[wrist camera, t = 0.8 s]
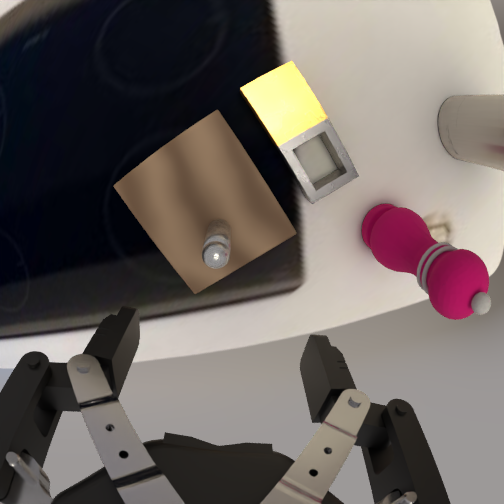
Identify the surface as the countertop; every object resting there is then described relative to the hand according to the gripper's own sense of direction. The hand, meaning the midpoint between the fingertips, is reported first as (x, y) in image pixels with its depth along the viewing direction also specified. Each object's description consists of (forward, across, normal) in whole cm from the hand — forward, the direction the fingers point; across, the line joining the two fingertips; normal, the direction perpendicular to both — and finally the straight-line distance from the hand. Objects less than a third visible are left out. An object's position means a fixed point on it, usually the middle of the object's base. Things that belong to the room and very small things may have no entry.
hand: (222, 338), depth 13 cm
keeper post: (+20, +1, +2) cm, 21 cm away
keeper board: (+22, +3, 0) cm, 22 cm away
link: (+22, -5, -10) cm, 25 cm away
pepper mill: (+23, -19, -2) cm, 29 cm away
